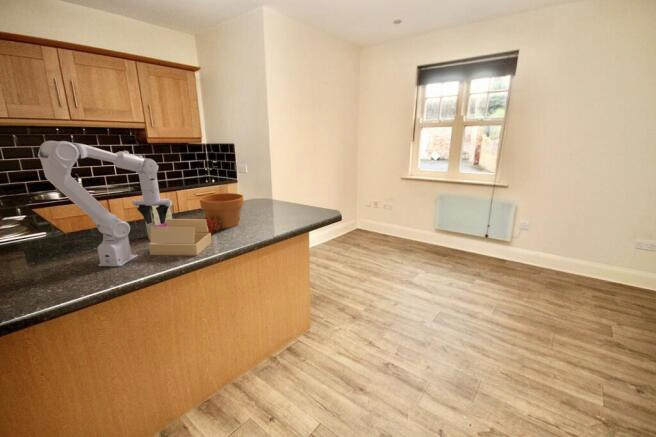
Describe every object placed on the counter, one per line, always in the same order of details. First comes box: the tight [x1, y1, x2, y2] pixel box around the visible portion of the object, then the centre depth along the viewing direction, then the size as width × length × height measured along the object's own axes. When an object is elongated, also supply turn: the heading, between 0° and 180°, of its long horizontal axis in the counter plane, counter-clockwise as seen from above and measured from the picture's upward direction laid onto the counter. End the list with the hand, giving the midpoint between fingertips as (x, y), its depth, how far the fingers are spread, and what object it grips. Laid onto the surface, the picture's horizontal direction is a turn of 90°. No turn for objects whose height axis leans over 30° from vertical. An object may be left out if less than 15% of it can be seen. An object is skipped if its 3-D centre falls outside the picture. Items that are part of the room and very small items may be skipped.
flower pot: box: [199, 192, 244, 230], centre depth 147 cm, size 21×21×15 cm
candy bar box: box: [144, 198, 174, 240], centre depth 129 cm, size 11×5×16 cm, turn 168°
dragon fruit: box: [201, 216, 222, 234], centre depth 136 cm, size 8×8×12 cm
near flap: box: [149, 227, 195, 244], centre depth 109 cm, size 6×16×1 cm
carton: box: [148, 232, 212, 257], centre depth 116 cm, size 14×18×4 cm
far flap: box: [166, 218, 210, 233], centre depth 120 cm, size 6×16×1 cm
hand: (156, 223), depth 115 cm, fingers open, 5 cm apart
